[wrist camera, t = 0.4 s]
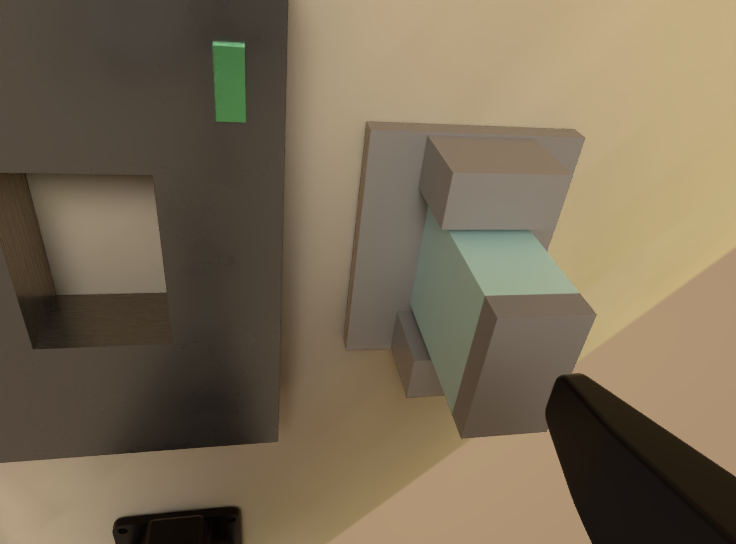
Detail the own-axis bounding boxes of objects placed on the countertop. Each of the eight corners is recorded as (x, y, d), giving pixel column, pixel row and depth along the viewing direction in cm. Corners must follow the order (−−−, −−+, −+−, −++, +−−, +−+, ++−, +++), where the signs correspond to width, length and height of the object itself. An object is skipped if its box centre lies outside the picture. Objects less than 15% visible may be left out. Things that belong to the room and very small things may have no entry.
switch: (274, 389, 26) (278, 445, 24) (-13, 405, 24) (-44, 470, 21) (282, -52, 16) (289, -36, 14) (-216, -101, 14) (-319, -94, 11)
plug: (477, 301, 24) (546, 431, 19) (409, 303, 24) (461, 438, 18) (505, 198, 22) (596, 314, 16) (429, 197, 21) (497, 318, 15)
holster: (509, 331, 27) (543, 390, 24) (343, 338, 25) (357, 402, 22) (574, 129, 21) (629, 173, 18) (366, 121, 20) (389, 168, 17)
